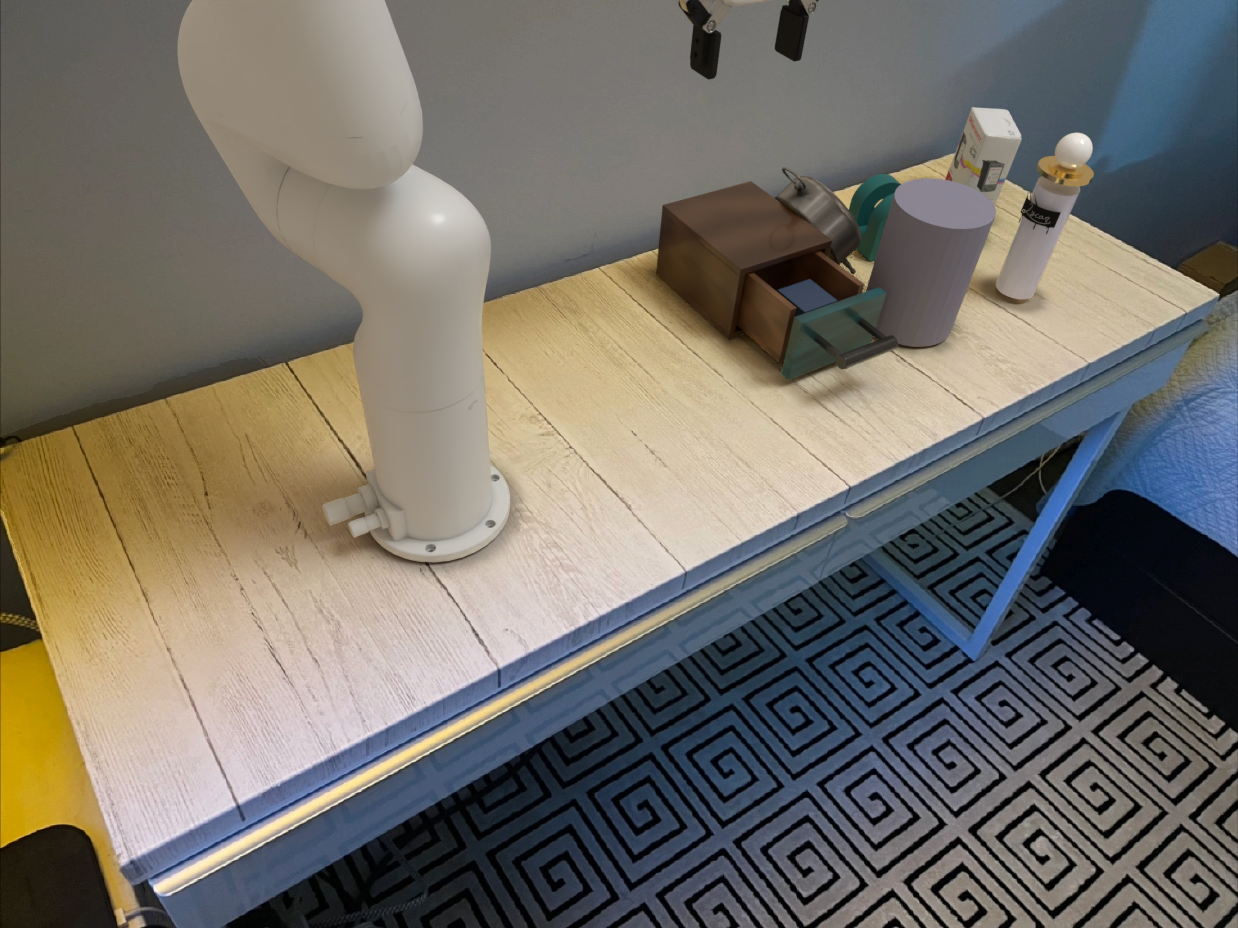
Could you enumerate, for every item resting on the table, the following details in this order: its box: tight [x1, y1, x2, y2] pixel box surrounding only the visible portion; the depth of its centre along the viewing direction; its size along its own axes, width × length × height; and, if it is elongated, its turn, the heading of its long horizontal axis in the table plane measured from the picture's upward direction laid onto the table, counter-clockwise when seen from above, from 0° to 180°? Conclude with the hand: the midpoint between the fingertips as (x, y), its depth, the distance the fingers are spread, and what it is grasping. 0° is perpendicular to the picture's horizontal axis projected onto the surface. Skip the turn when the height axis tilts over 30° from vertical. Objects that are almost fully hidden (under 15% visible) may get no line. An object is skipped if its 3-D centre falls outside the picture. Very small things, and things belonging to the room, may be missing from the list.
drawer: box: [736, 250, 899, 381], centre depth 97 cm, size 18×11×7 cm, turn 32°
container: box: [865, 177, 997, 348], centre depth 100 cm, size 10×10×15 cm
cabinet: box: [655, 180, 832, 341], centre depth 104 cm, size 15×13×9 cm
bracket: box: [848, 173, 902, 262], centre depth 115 cm, size 18×7×8 cm, turn 109°
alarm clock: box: [774, 166, 861, 275], centre depth 106 cm, size 11×5×16 cm
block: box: [777, 279, 837, 317], centre depth 98 cm, size 4×4×4 cm
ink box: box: [944, 106, 1022, 207], centre depth 121 cm, size 9×5×12 cm, turn 177°
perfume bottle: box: [994, 132, 1095, 300], centre depth 103 cm, size 6×6×20 cm
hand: (745, 64), depth 83 cm, fingers open, 9 cm apart
